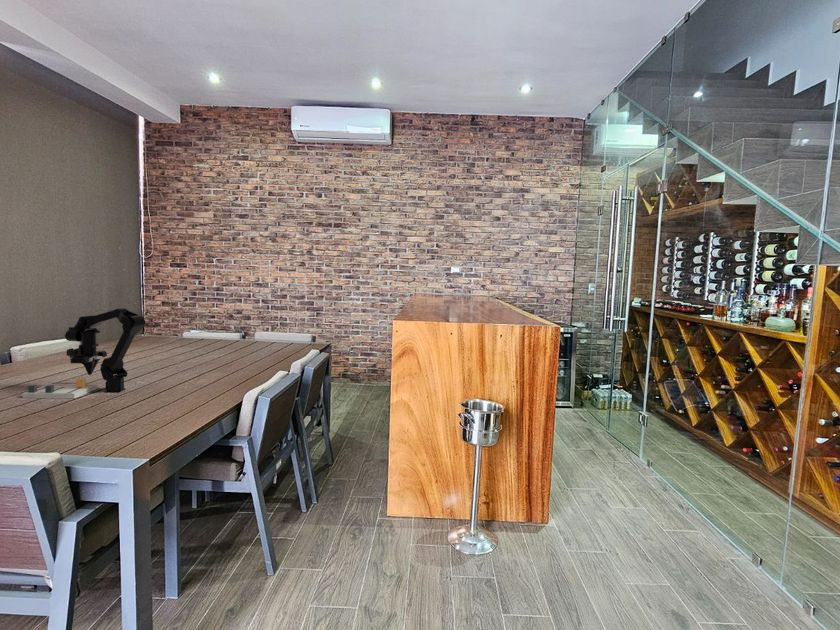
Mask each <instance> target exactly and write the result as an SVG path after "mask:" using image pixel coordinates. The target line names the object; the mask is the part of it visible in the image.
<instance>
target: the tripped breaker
mask: <svg viewBox="0 0 840 630" xmlns="http://www.w3.org/2000/svg"><path fill="white" fill-rule="evenodd" d="M75 384H76V388H83V387H86V384H87V383H86V378H77V379H75Z"/></svg>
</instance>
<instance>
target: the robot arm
mask: <svg viewBox="0 0 840 630" xmlns="http://www.w3.org/2000/svg"><path fill="white" fill-rule="evenodd" d="M115 319H118V322H119V323H121V324H122V331H123V332H122V333H121V335H120V337H119V339H118V341H117V344H116V346H115V347H114V350H113V352H112V354H111V356H110V357H108V352H107V351H106V350H97V347H99V343H97V334H101V331H100V330H99V329H97V327H99V326H101V324H103V323H105V322H108V321H112V320H115ZM145 325H146V320H145V318H144V316H142V315H139V314H137V313H135V312H133V311H130V310H128V309H127V308H124V307H122V308H115V309H113V310H109V311H105V312H102V313H99V314H95V315H84V316H80V317H78V321H77V322H76V324H75V325H74V326H69V327H68V329H67V331H65V335H64V338H65V340H66V341H68V342H80V343H81V344H78V345H79V346H78V348H76V349H75V348H69V349H66V356H67V357H69V358H70V359H69V361H70V364H81V365H83V366H84V368H85V371H86V373H87V375H89V376H91V375H93V373H94V371H95V368H96V367H97V365H98V363H99V361H100V360H101V359H100V358H98V357H102V358H104V359H103V360H102V362H101V364H100V366H99V367H100V369H99V371H100V373H101V375H102V379H103V381H105V383H104V384H105V391H104V393H107V394H108V393H111V394H115V393H117V394H119V393H122V392H124V391H125V389H126V390H127V388H125V378H126V377H128V371H127V370H126V369H125V368H124V365H125V363H124V357H125V355H126V354H127V352H128V350H129V348H130V346H131V344H132V342H133V340H134V338H135V336H136V335H137V334H138V333H139V332H141V331H142V330H143V329H144V327H145ZM123 390H124V391H123ZM121 391H122V392H121Z"/></svg>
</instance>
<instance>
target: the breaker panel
mask: <svg viewBox="0 0 840 630" xmlns="http://www.w3.org/2000/svg"><path fill="white" fill-rule="evenodd" d="M97 389H98V384H91V383H90V384H87V383H86V387H83V388H76V383H74V384H73V383H72V384H71V383H48V384H45V385H42V386H40V387H38V384H29V385H27V391H25V392H23V393H22V399H76V398H78V397H81V396H84V395H85V394H88V393H90V392H93V391H96V390H97Z"/></svg>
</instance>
